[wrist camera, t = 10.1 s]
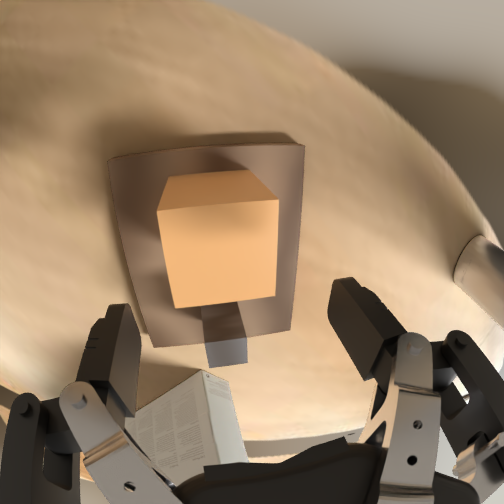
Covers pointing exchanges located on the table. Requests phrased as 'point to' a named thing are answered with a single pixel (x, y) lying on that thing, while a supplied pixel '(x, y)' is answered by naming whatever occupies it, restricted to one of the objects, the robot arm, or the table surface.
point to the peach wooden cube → (219, 237)
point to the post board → (152, 256)
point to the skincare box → (190, 428)
